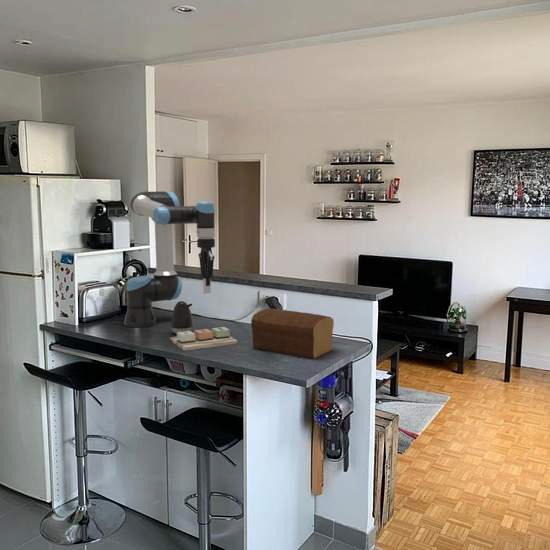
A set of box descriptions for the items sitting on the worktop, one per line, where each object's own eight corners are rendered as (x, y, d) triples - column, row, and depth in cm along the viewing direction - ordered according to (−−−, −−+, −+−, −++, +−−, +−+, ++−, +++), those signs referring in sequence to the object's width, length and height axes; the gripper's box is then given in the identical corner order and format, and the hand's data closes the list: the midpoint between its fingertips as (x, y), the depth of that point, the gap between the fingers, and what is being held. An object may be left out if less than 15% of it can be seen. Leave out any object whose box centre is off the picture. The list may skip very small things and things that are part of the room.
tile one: (176, 338, 248) (176, 332, 248) (190, 336, 251) (190, 330, 250) (181, 341, 243) (181, 335, 242) (195, 340, 246) (195, 333, 245)
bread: (312, 360, 225) (313, 320, 222) (250, 349, 241) (250, 311, 239) (334, 350, 240) (334, 312, 237) (274, 339, 256) (274, 304, 254)
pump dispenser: (187, 337, 260) (186, 303, 257) (166, 335, 263) (166, 302, 261) (197, 332, 269) (197, 299, 267) (177, 330, 272) (177, 298, 270)
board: (170, 340, 253) (170, 337, 253) (221, 334, 264) (220, 331, 264) (184, 350, 237) (184, 347, 237) (237, 343, 249) (237, 340, 248)
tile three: (211, 334, 256) (211, 328, 255) (224, 332, 258) (224, 326, 258) (216, 337, 250) (216, 330, 250) (229, 335, 253) (229, 329, 253)
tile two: (194, 336, 252) (194, 330, 251) (207, 334, 255) (207, 328, 254) (199, 339, 247) (199, 333, 246) (212, 337, 249) (212, 331, 249)
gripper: (192, 237, 249) (193, 291, 252) (202, 239, 238) (204, 295, 241) (208, 237, 252) (209, 290, 256) (219, 238, 241) (221, 294, 244)
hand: (207, 293), depth 248 cm, fingers closed
